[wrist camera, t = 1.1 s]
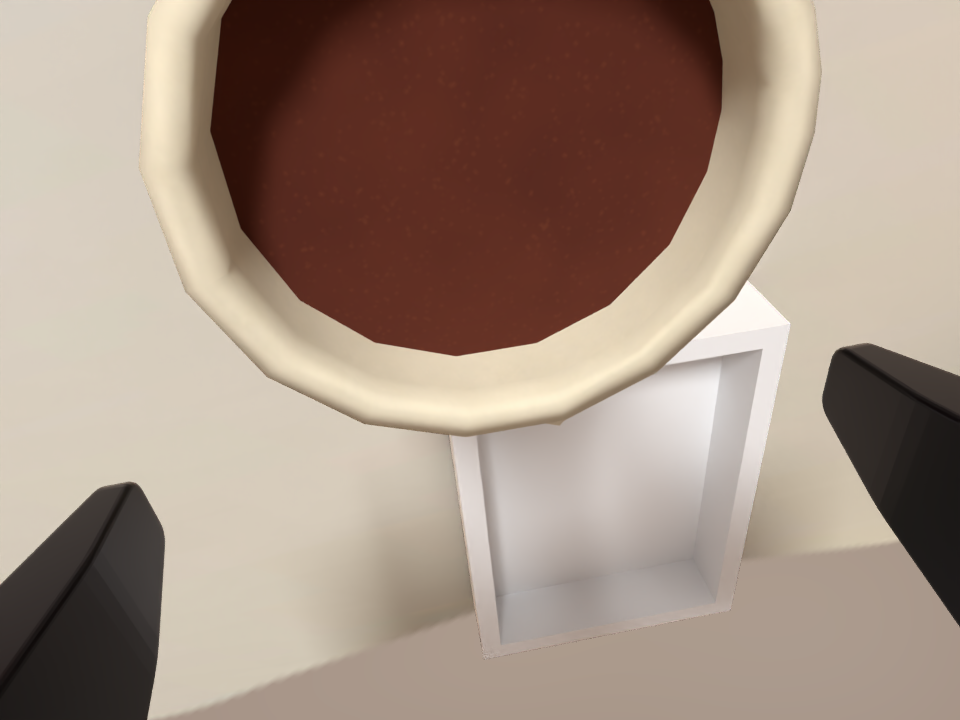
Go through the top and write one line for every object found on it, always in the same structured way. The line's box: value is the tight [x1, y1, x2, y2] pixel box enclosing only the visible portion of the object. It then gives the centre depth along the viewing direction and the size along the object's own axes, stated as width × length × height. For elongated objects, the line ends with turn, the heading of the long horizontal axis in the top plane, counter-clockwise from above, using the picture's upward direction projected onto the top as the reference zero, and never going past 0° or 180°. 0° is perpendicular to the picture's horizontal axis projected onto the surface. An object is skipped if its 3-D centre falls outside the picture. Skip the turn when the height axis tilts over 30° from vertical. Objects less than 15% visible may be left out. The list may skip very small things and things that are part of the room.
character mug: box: [139, 0, 822, 437], centre depth 13 cm, size 11×7×13 cm, turn 17°
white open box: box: [449, 280, 791, 659], centre depth 27 cm, size 11×15×3 cm
